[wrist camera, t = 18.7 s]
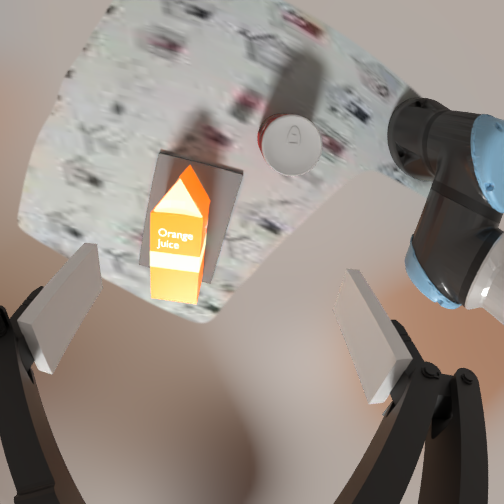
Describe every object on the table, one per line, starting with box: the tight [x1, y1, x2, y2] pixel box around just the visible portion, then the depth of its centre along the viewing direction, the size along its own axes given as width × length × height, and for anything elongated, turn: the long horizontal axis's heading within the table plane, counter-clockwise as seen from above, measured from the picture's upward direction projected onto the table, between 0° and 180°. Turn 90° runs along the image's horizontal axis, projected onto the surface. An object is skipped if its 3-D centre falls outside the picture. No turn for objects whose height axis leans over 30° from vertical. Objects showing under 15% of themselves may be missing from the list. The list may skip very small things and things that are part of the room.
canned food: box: [258, 114, 322, 176], centre depth 40 cm, size 8×8×11 cm
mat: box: [139, 153, 243, 284], centre depth 50 cm, size 14×21×1 cm, turn 163°
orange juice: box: [150, 165, 210, 304], centre depth 46 cm, size 8×9×20 cm
